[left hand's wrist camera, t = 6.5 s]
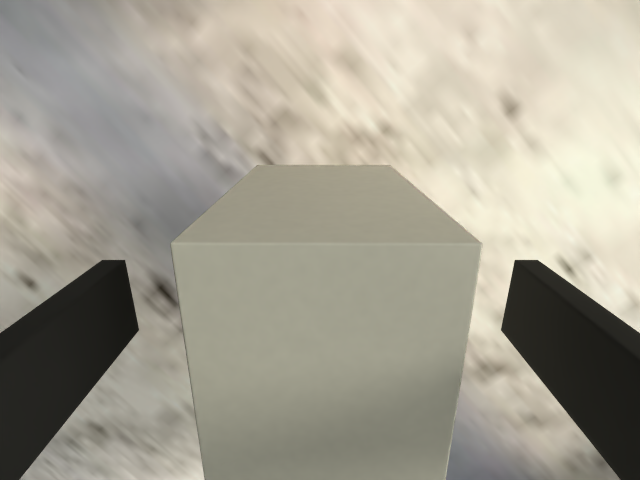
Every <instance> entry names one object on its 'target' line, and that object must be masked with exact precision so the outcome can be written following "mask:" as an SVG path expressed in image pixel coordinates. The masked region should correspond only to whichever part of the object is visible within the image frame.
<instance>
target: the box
mask: <svg viewBox="0 0 640 480" xmlns="http://www.w3.org/2000/svg"><path fill="white" fill-rule="evenodd" d="M170 246H171V253H172V260H173V267H174V274H175V280H176V287H177V294H178V301H179V308H180V314H181V321H182V328H183V335H184V342H185V349H186V355H187V362H188V369H189V376H190V383H191V389H192V396H193V403H194V410H195V417H196V424H197V430H198V437H199V444H200V451H201V458H202V464H203V471H204V478H205V480H445V478H446V472H447V466H448V460H449V453H450V447H451V441H452V435H453V428H454V422H455V416H456V409H457V403H458V397H459V391H460V384H461V378H462V372H463V365H464V359H465V353H466V347H467V340H468V334H469V328H470V321H471V315H472V309H473V303H474V296H475V290H476V284H477V278H478V271H479V265H480V259H481V252H482V246H483V245H482V243H481V242H480V241H479V240H478V239H476V238H475V237H474V236H473V235H472V234H471V233H469V232H468V231H467V230H466V229H465V228H464V227H462V226H461V225H460V224H459V223H458V222H456V221H455V220H454V219H453V218H452V217H451V216H449V215H448V214H447V213H446V212H445V211H443V210H442V209H441V208H440V207H439V206H438V205H436V204H435V203H434V202H433V201H432V200H430V199H429V198H428V197H427V196H426V195H425V194H423V193H422V192H421V191H420V190H419V189H417V188H416V187H415V186H414V185H413V184H412V183H410V182H409V181H408V180H407V179H406V178H405V177H403V176H402V175H401V174H400V173H399V172H397V171H396V170H395V169H394V168H393V167H392V166H390V165H257V166H256V167H255V168H254V169H253V170H251V171H250V172H249V173H248V174H247V175H246V176H245V177H244V178H243V179H241V180H240V181H239V182H238V183H237V184H236V185H235V186H234V187H232V188H231V189H230V190H229V191H228V192H227V193H226V194H225V195H224V196H222V197H221V198H220V199H219V200H218V201H217V202H216V203H215V204H214V205H212V206H211V207H210V208H209V209H208V210H207V211H206V212H205V213H203V214H202V215H201V216H200V217H199V218H198V219H197V220H196V221H195V222H193V223H192V224H191V225H190V226H189V227H188V228H187V229H186V230H184V231H183V232H182V233H181V234H180V235H179V236H178V237H177V238H176V239H174V240H173V241H172V242H171V244H170Z"/></svg>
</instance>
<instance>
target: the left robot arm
mask: <svg viewBox="0 0 640 480" xmlns="http://www.w3.org/2000/svg"><path fill="white" fill-rule="evenodd" d="M138 331H139V328H138V323H137V318H136V313H135V308H134V303H133V298H132V293H131V288H130V283H129V278H128V273H127V268H126V263H125V260H102V261H100V262H99V263H98V264H96V265H95V266H93V267H92V268H91V269H89V270H88V271H86V272H85V273H84V274H82V275H81V276H79V277H78V278H77V279H75V280H74V281H72V282H71V283H70V284H68V285H67V286H65V287H64V288H63V289H61V290H60V291H59V292H57V293H56V294H54V295H53V296H52V297H50V298H49V299H47V300H46V301H45V302H43V303H42V304H40V305H39V306H38V307H36V308H35V309H33V310H32V311H31V312H29V313H28V314H26V315H25V316H24V317H22V318H21V319H19V320H18V321H17V322H15V323H14V324H13V325H11V326H10V327H8V328H7V329H6V330H4V331H3V332H1V333H0V480H19V479H20V478H21V477H22V475H23V474H24V473H25V472H26V470H27V469H28V468H29V467H30V465H31V464H32V463H33V462H34V460H35V459H36V458H37V457H38V455H39V454H40V453H41V452H42V450H43V449H44V448H45V447H46V445H47V444H48V443H49V442H50V440H51V439H52V438H53V437H54V435H55V434H56V433H57V432H58V430H59V429H60V428H61V427H62V426H63V424H64V423H65V422H66V421H67V419H68V418H69V417H70V416H71V414H72V413H73V412H74V411H75V409H76V408H77V407H78V406H79V404H80V403H81V402H82V401H83V399H84V398H85V397H86V396H87V394H88V393H89V392H90V391H91V389H92V388H93V387H94V386H95V384H96V383H97V382H98V381H99V379H100V378H101V377H102V376H103V374H104V373H105V372H106V371H107V369H108V368H109V367H110V366H111V364H112V363H113V362H114V361H115V359H116V358H117V357H118V356H119V354H120V353H121V352H122V351H123V349H124V348H125V347H126V346H127V344H128V343H129V342H130V341H131V339H132V338H133V337H134V336H135V334H136V333H137V332H138ZM501 331H502V332H503V333H504V334H505V336H506V337H507V338H508V339H509V341H510V342H511V343H512V344H513V346H514V347H515V348H516V349H517V351H518V352H519V353H520V354H521V356H522V357H523V358H524V359H525V361H526V362H527V363H528V364H529V366H530V367H531V368H532V369H533V371H534V372H535V373H536V374H537V376H538V377H539V378H540V379H541V381H542V382H543V383H544V384H545V386H546V387H547V388H548V389H549V391H550V392H551V393H552V394H553V396H554V397H555V398H556V399H557V401H558V402H559V403H560V404H561V406H562V407H563V408H564V409H565V411H566V412H567V413H568V414H569V416H570V417H571V418H572V419H573V421H574V422H575V423H576V424H577V426H578V427H579V428H580V429H581V430H582V432H583V433H584V434H585V435H586V437H587V438H588V439H589V440H590V442H591V443H592V444H593V445H594V447H595V448H596V449H597V450H598V452H599V453H600V454H601V455H602V457H603V458H604V459H605V460H606V462H607V463H608V464H609V465H610V467H611V468H612V469H613V470H614V472H615V473H616V474H617V475H618V477H619V478H620V479H621V480H640V333H639V332H637V331H636V330H634V329H633V328H632V327H630V326H629V325H627V324H626V323H625V322H623V321H622V320H621V319H619V318H618V317H616V316H615V315H614V314H612V313H611V312H609V311H608V310H607V309H605V308H604V307H602V306H601V305H600V304H598V303H597V302H595V301H594V300H593V299H591V298H590V297H588V296H587V295H586V294H584V293H583V292H581V291H580V290H579V289H577V288H576V287H575V286H573V285H572V284H570V283H569V282H568V281H566V280H565V279H563V278H562V277H561V276H559V275H558V274H556V273H555V272H554V271H552V270H551V269H549V268H548V267H547V266H545V265H544V264H542V263H541V262H540V261H538V260H515V262H514V268H513V273H512V278H511V283H510V288H509V293H508V298H507V303H506V308H505V313H504V318H503V323H502V328H501Z"/></svg>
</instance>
